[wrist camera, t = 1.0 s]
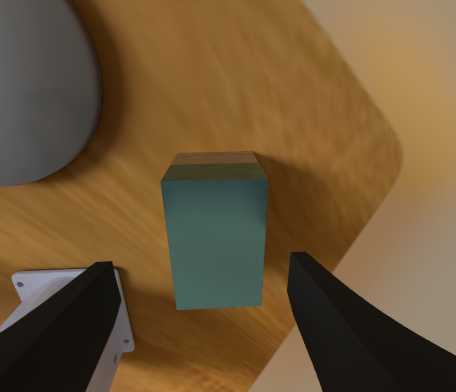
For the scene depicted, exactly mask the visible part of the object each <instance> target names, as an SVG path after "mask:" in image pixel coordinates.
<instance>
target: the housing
mask: <svg viewBox="0 0 456 392" xmlns="http://www.w3.org/2000/svg"><path fill="white" fill-rule="evenodd" d="M268 180H269V178H268V177H267V175H266V174H265V172H264V170H263V169H262V167H261V166H260V164H259V162H258V161H257V159H256V158H255V156H254V154H253V153H252V151H237V152H192V153H177V154H176V156H175V158H174V159H173V161H172V163H171V165H170V166H169V168H168V170H167V172H166V173H165V175H164V177H163V178H162V180H161V188H162V196H163V204H164V212H165V220H166V228H167V236H168V245H169V253H170V261H171V269H172V277H173V285H174V293H175V301H176V309H177V310H192V309H211V308H231V307H251V306H261V303H262V286H263V268H264V250H265V233H266V215H267V197H268Z"/></svg>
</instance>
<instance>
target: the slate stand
mask: <svg viewBox="0 0 456 392" xmlns="http://www.w3.org/2000/svg"><path fill="white" fill-rule="evenodd" d="M101 108H102V79H101V71H100V66H99V62H98V58H97V54H96V51H95V48H94V46H93V43H92V40H91V38H90V35H89V33H88V31H87V29H86V27H85V25H84V23H83V21H82V19H81V17H80V15H79V14H78V12H77V11H76V9H75V7H74V6H73V4H72V3H71V1H70V0H0V186H13V185H21V184H26V183H30V182H34V181H36V180H39V179H42V178H44V177H46V176H48V175H50V174H52V173H54V172H56V171H58V170H60V169H61V168H63V167H65V166H67V165H69V164H70V163H71V162H72V161H74V160H75V159H76V158H77V157H78V156H79V155H80V154H81V153H82V152H83V151H84V150H85V149H86V147H87V146H88V144H89V143H90V141H91V139H92V138H93V135H94V133H95V131H96V129H97V126H98V122H99V119H100V115H101Z"/></svg>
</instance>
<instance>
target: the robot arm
mask: <svg viewBox="0 0 456 392" xmlns="http://www.w3.org/2000/svg"><path fill="white" fill-rule="evenodd" d="M11 278H12V281H13V283H14V285H15V288H16V290H17V292H18V294H19V297H20V299H21V301H22V303H21V304H20V305H19V306H18V308H17V309H16V310H15V311H14V312H13V313H12V314H11V315H10V316H9V317H8V319H7V320H6V321H5V322H4V323H3V324H2V325H1V326H0V392H109V391H110V388H111V385H112V382H113V379H114V376H115V373H116V370H117V368H118V365H119V362H120V359H121V356H122V353H123V352H132V351H133V350H134V347H135V343H134V339H133V334H132V330H131V326H130V321H129V317H128V313H127V308H126V304H125V300H124V295H123V291H122V287H121V282H120V278H119V274H118V271H117V270H116V269H115V268H114V267H113V263H112V261H107V262H96V263H94V264H93V265H91V266H90V267H89V268H87V269H65V270H40V271H18V272H16V273H15V274H13V275H12V277H11ZM21 282H22V283H21ZM287 293H288V297H289V301H290V305H291V308H292V312H293V315H294V318H295V321H296V323H297V326H298V328H299V331H300V333H301V336H302V338H303V341H304V344H305V346H306V349H307V351H308V353H309V356H310V358H311V361H312V364H313V366H314V369H315V371H316V374H317V377H318V380H319V382H320V385H321V388H322V391H323V392H456V355H454V354H452V353H450V352H448V351H446V350H445V349H443V348H441V347H439V346H437V345H436V344H434V343H432V342H430V341H429V340H427V339H425V338H423V337H421V336H420V335H418V334H416V333H415V332H413V331H411V330H410V329H408V328H406V327H405V326H403V325H402V324H400V323H398V322H397V321H395V320H394V319H392V318H391V317H389V316H388V315H386V314H384V313H383V312H381V311H380V310H378V309H377V308H376V307H374V306H373V305H371V304H370V303H369V302H367V301H366V300H364V299H363V298H362V297H360V296H359V295H358V294H356V293H355V292H354V291H352V290H351V289H349V288H348V287H347V286H346V285H345V284H343V283H342V282H341V281H340V280H338V279H337V278H336V277H335V276H334V275H332V274H331V273H330V272H329V271H328V270H326V269H325V268H324V267H323V266H322V265H321V264H319V263H318V262H317V261H316V260H315V259H314V258H312V257H311V256H310V255H309V254H308V253H306V252H291V254H290V265H289V275H288V286H287Z"/></svg>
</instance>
